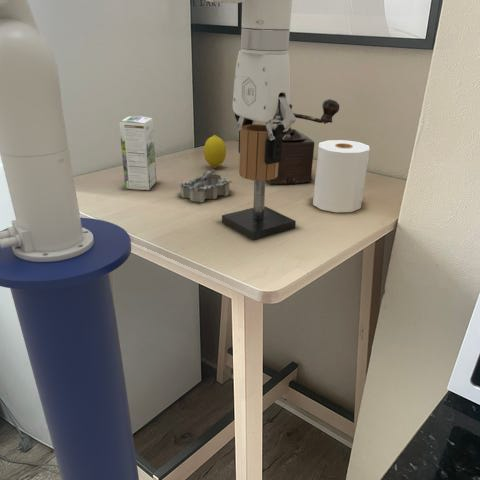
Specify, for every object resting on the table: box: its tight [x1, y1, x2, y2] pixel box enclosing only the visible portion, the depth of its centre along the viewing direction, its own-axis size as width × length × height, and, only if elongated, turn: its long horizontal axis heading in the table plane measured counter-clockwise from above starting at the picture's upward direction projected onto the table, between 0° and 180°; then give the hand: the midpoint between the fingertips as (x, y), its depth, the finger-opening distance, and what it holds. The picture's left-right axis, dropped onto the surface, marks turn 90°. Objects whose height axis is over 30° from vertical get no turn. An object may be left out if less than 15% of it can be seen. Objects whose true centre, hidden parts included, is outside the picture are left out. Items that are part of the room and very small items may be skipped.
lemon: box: [203, 134, 227, 169], centre depth 124 cm, size 6×6×8 cm
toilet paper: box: [312, 139, 371, 214], centre depth 102 cm, size 10×10×12 cm
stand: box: [221, 180, 297, 241], centre depth 92 cm, size 10×10×10 cm
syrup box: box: [119, 115, 157, 191], centre depth 109 cm, size 6×6×14 cm
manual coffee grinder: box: [265, 98, 340, 186], centre depth 116 cm, size 16×11×18 cm
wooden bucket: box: [238, 123, 279, 181], centre depth 87 cm, size 7×7×8 cm
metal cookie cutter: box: [178, 169, 233, 203], centre depth 108 cm, size 11×8×4 cm
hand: (259, 156), depth 88 cm, fingers closed on wooden bucket, 6 cm apart
